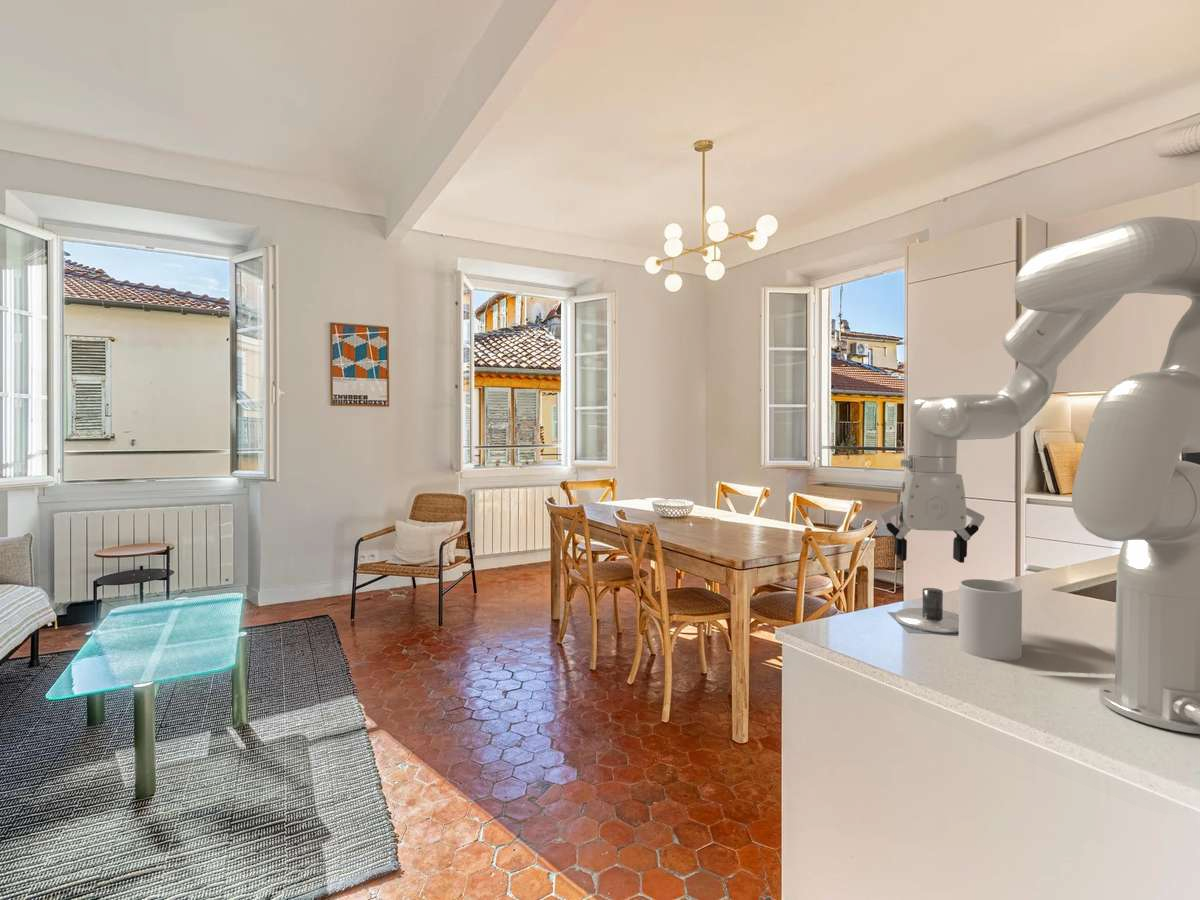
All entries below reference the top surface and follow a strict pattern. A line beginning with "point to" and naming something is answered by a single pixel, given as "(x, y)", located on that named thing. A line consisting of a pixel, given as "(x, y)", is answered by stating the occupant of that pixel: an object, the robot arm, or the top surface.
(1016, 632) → the mug
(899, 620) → the lid
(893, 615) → the mat
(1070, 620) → the top surface
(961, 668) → the top surface
